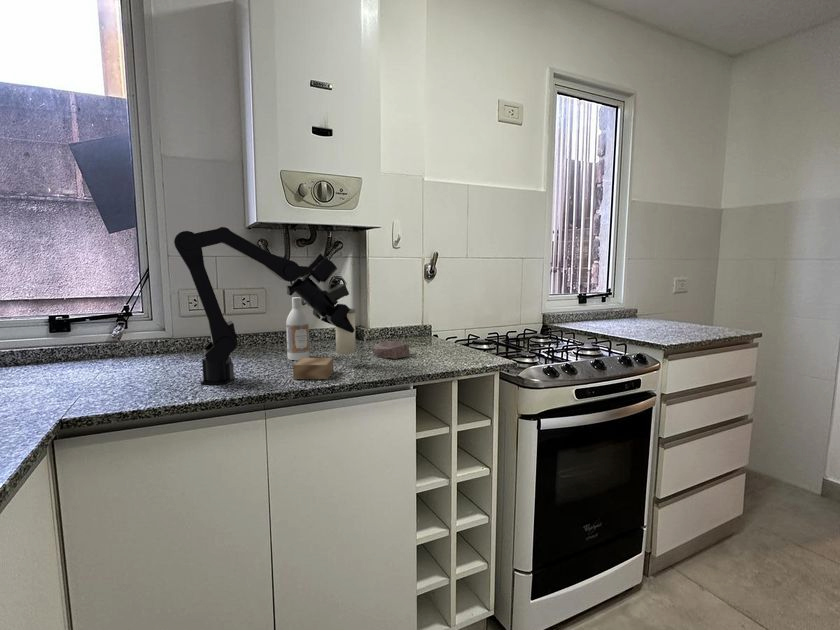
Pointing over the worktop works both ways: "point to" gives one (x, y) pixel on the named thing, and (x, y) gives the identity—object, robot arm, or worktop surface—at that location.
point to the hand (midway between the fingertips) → (349, 330)
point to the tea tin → (346, 337)
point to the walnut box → (313, 368)
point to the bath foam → (297, 332)
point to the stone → (391, 350)
